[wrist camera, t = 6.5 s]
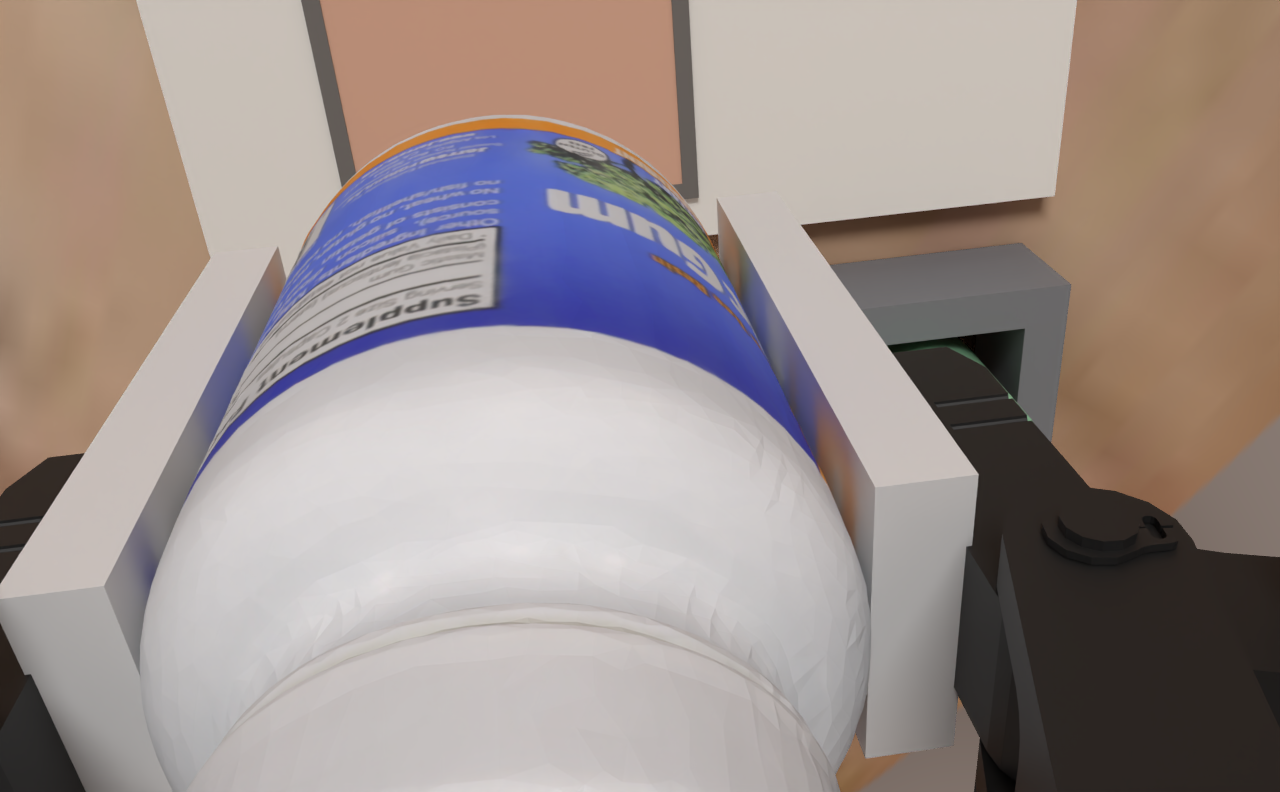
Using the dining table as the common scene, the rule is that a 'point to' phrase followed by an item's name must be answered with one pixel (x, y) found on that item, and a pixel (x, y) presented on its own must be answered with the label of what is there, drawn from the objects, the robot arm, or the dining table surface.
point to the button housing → (975, 312)
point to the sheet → (620, 96)
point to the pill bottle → (507, 506)
